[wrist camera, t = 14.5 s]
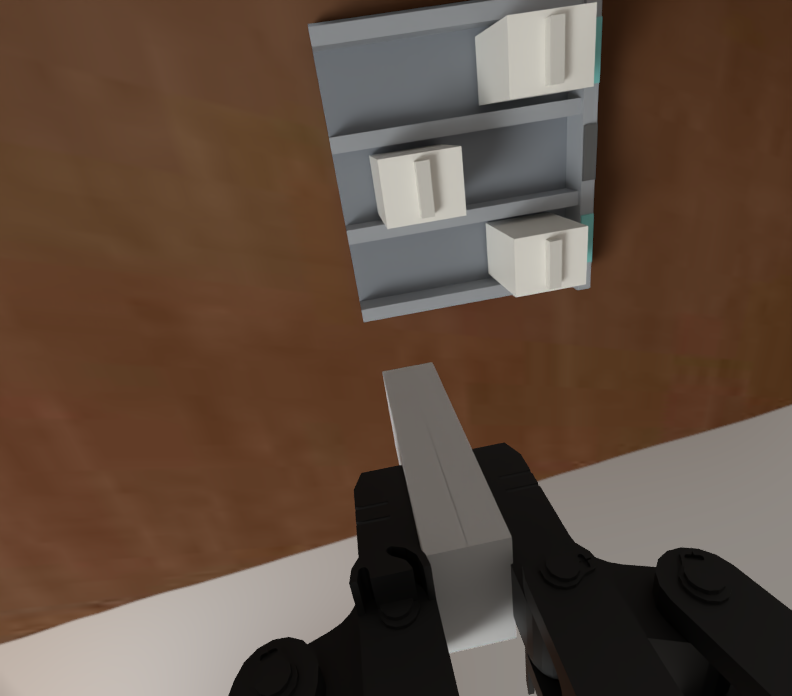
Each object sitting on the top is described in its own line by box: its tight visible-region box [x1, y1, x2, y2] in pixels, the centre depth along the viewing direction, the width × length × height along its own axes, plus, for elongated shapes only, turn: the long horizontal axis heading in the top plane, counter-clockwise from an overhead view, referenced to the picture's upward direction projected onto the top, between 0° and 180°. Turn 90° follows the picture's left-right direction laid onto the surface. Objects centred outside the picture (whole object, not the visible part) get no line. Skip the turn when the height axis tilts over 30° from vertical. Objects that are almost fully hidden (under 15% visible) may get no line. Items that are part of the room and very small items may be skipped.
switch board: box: [308, 0, 602, 322], centre depth 33 cm, size 20×18×4 cm
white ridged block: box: [369, 144, 466, 229], centre depth 30 cm, size 4×5×7 cm
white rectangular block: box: [475, 2, 597, 106], centre depth 28 cm, size 4×5×7 cm
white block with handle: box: [486, 212, 588, 297], centre depth 33 cm, size 4×5×7 cm
